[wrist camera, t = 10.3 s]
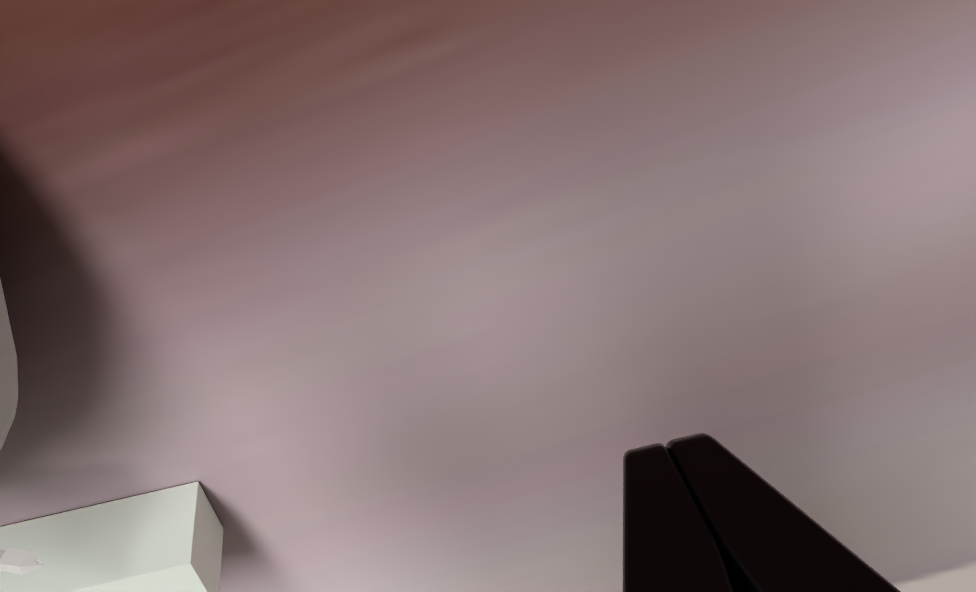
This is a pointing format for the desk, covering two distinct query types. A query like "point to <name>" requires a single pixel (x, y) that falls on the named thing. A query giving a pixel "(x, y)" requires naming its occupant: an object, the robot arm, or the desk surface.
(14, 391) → the robot toy
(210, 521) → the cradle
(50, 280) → the desk surface
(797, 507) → the robot arm
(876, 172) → the desk surface
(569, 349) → the desk surface
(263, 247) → the desk surface
